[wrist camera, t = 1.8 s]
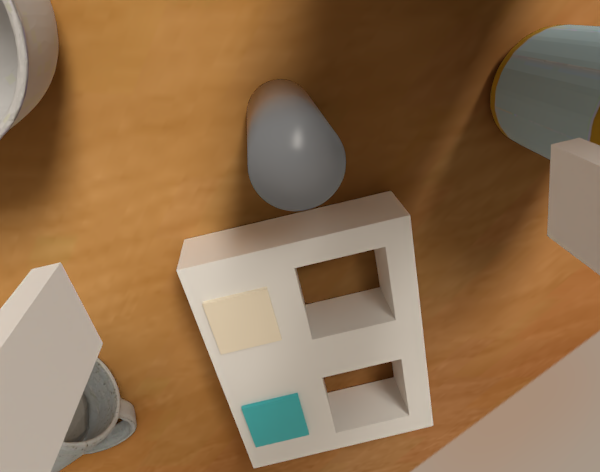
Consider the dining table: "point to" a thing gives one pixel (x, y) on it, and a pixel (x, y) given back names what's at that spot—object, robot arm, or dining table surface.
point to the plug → (291, 148)
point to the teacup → (25, 57)
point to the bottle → (550, 88)
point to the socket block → (311, 328)
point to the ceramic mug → (97, 419)
